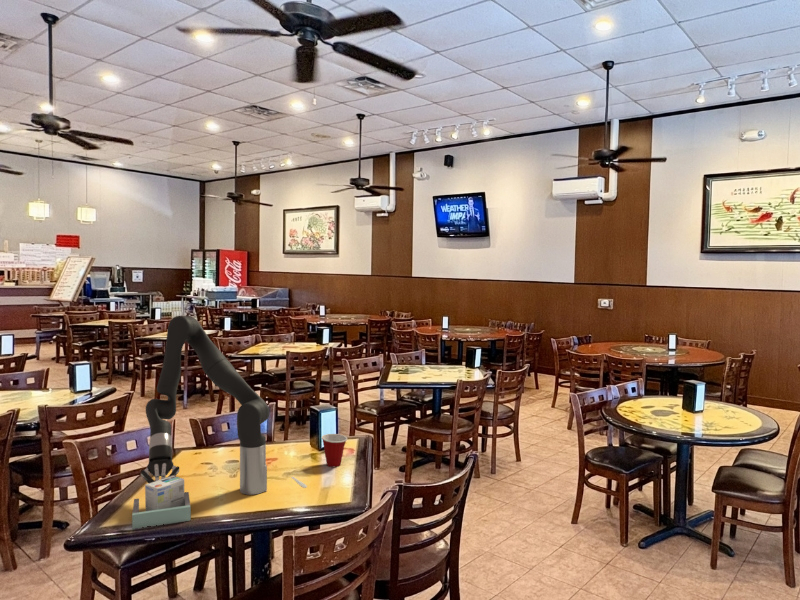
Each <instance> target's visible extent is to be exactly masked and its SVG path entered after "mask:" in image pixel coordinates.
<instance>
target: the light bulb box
mask: <svg viewBox="0 0 800 600" xmlns="http://www.w3.org/2000/svg"><path fill="white" fill-rule="evenodd" d="M144 489H145V490H144V494H145V496H144V498H145V500H144V501H145V502H144V503H145V504H144V505H145V507H144V508H145V511H152V510H159V509H166V508H173V507H180V506H184V492H185V479H184V478H181V477H179V476H177V475H176V476H174V475H172V476H170V477H168V476H167V477H165V478H164V479H161V478H160V479H159V480H158V481H155V482H152V483H146V484H144Z"/></svg>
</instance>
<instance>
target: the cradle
mask: <svg viewBox="0 0 800 600" xmlns="http://www.w3.org/2000/svg"><path fill="white" fill-rule="evenodd" d="M191 507H192V506H191V501H190V493H189V491H186V492H185V491H184V506H180V507H173V508H166V509H159V510H152V511H146V510H145V511H140V497H139V498H138V497H137V498H134V499H133V505H132V514H131V522H132V523H131V524H132V526H131V527H132V530H136V529H135V528H138V529H143V528H142V527H144V528H148V527H147V526H151V527H157V526H163V524H164V525H169V524H170V525H171V524H176V523H182V522H188V521H191V516H192V515H191V509H192V508H191ZM156 525H157V526H156Z"/></svg>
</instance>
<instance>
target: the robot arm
mask: <svg viewBox="0 0 800 600" xmlns="http://www.w3.org/2000/svg"><path fill="white" fill-rule="evenodd" d="M165 343H166V344H165V350H164V356H163V357H164V358H163V361H162V362H163V363H162V368H161V371H160V375H159V378H158V382H157V387H156V392H158V393H159V394H161V395H163V396H167V399H158V398H152V399H150V400H149V401H147V403H146V406H145V416H146V419H147V421H148V422H147V423H148V425H149V428H150V429H149V430H150V432H149V433H150V436H149V444H148V464H147V465H146V468H145V469H142V470H140V476H141V477H142V478H143V479H144V480H145V481H146V482H147V484H149V483H152V482H155V481H158V480H161V479H164V478H167V477H170V476H172V475H174V476H176V477H177V476H178V475H177V474H179V472H180V466H176V465H175V464H174V462H173V440H172V424H171V422H169V421H167V420H171V419H173V418H174V417H175V415H176V412H177V391H178V386H179V384H180V380H181V377H182V376H181V375H182V361H181V360H182V351H183V347H184V345H185V343H187V344H188V345H189V346H190V347H191V348H192V349H193V350H194V352H195V353H196V355H197V357H198V360H199V362H200V366H201V368H202V371H203V372H204V373H205V375H207V377H208V379H210V381H211V383H213V384H214V385H215V386H216V387H218V388H219V389H220V390H222V391H224V392H225V393H227V394H229V395H230V396H232V397H234V399H236V401H237V402H238V403H239V404H240V406H239V407H238V409H237V414H236V422H237V423H236V426H237V428H236V430H237V437H238V440H239V492H240V493H241V494H243V495H248V496H249V495H252V496H253V495H258V494H261V493H263V492H267V491H268V465H267V464H266V462H267V460H266V458H267V452H266V451H267V446H266V445H267V440H266V439H267V438H266V435H265V434H263V433H262V429H261V424H262V423H264V422H266V421H267V420H269V417H270V412H271V411H270V408H269V406H268V404H267V402H266V401H265V400H264V399H263V398H262V397H261V396H260V395H259V394H258V393H257V392H256V391H255V390H254V389H253V388H252V387H251V386H250V385H249V384H248V383H247V382H246V380H245V379H244V378H243V376H242V375H241V374H240V373H239V372H238V371H237V369H236V368H235V367H234V366H233V364H232V363H231V362H230V361H229V360H228V358H227V357H226V356H225V355H224V354H223V353H222V351H221V350H220V349H219V347H217V345H215V343H214V342H213V341H212V340H211V339H210V337H209V335H208V334H207V333H206V331H205V330H204V328H203V327H202V325H201V324H200V322H199V321H198V320H197V319H196V318H195V317H192V316H189V315H176V316H174V317H173V318H171V319H170V321H169V323H168V326H167V334H166V342H165ZM170 472H171V473H170ZM149 473H150V474H151V475H152V476H150V474H149ZM167 475H168V476H167ZM166 476H167V477H166ZM152 477H154V478H152Z"/></svg>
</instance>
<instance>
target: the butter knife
mask: <svg viewBox="0 0 800 600" xmlns="http://www.w3.org/2000/svg"><path fill="white" fill-rule="evenodd" d="M291 479H293V480H294V481H295V482H296V483H297V484H298V485H299V486H300V487H302V488H303V489H306V488H308V486H307V484H305V483H304V482H303V481H301V480H299V479H298V478H296V477H295V476H291Z"/></svg>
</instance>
